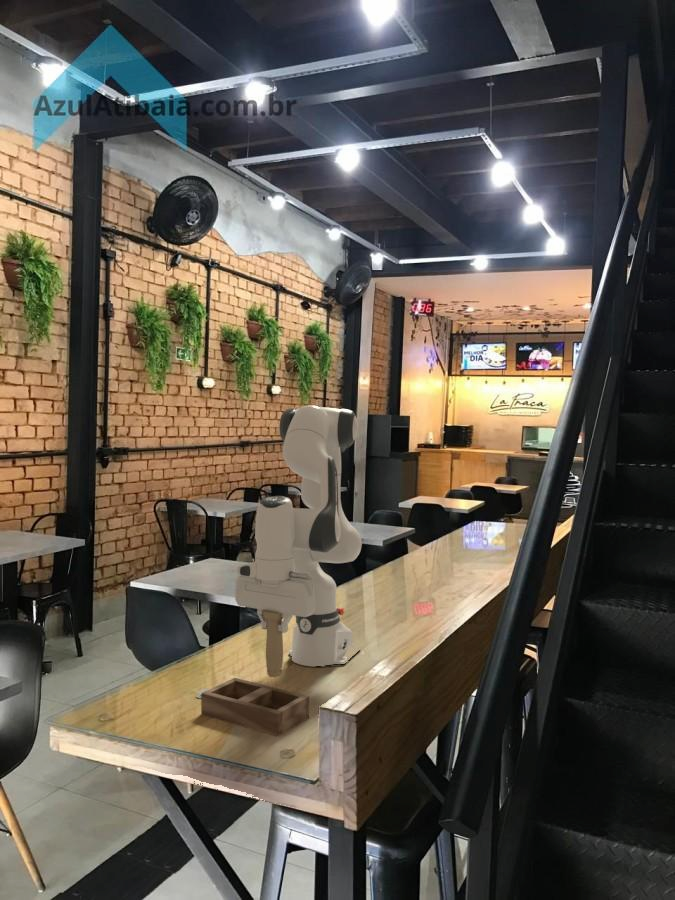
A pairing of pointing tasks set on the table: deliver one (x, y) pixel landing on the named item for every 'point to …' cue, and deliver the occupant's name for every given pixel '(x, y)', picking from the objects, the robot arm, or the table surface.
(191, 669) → the table surface
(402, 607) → the table surface
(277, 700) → the divided box
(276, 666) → the handle
